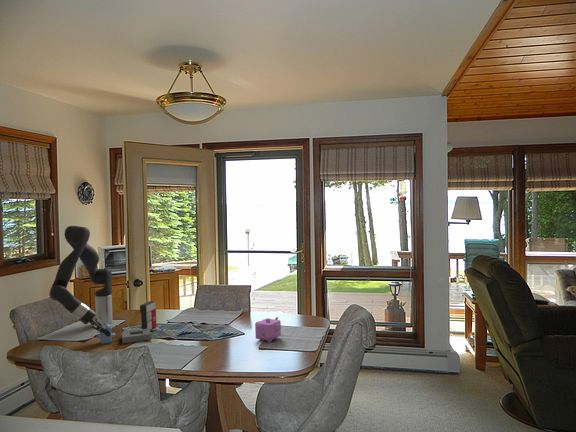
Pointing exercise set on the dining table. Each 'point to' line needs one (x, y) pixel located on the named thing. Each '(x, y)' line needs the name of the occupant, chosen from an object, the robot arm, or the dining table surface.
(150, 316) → the grey red upright box
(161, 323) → the dining table surface
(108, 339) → the servo
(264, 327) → the teapot
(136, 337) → the chassis
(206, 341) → the dining table surface
